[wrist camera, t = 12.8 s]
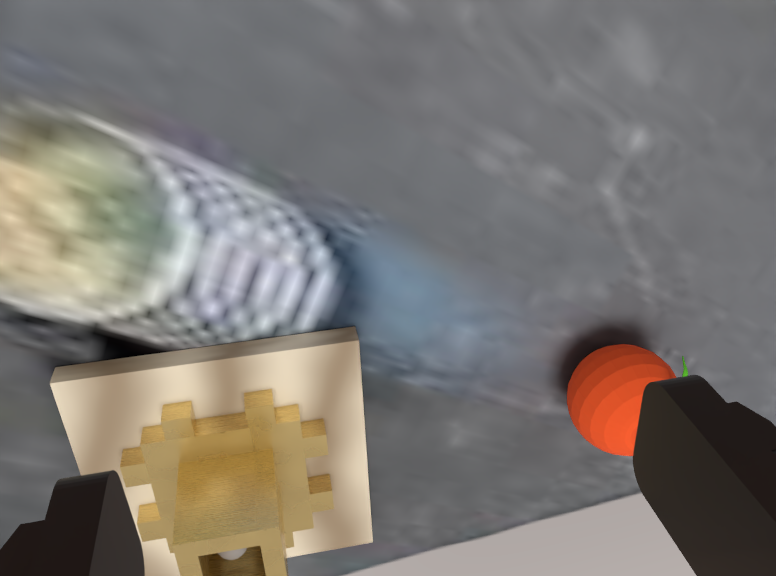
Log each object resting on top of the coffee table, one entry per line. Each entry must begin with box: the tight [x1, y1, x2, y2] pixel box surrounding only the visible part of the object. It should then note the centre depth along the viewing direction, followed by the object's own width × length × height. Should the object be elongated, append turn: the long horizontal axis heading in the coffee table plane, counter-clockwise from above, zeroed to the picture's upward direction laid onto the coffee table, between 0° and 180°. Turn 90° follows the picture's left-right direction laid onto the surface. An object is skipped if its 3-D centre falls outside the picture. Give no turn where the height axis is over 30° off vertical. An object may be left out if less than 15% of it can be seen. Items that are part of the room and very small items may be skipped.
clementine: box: [567, 344, 688, 456], centre depth 45 cm, size 8×7×7 cm
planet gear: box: [120, 389, 334, 576], centre depth 42 cm, size 12×12×8 cm
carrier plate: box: [50, 326, 373, 576], centre depth 43 cm, size 17×17×8 cm
